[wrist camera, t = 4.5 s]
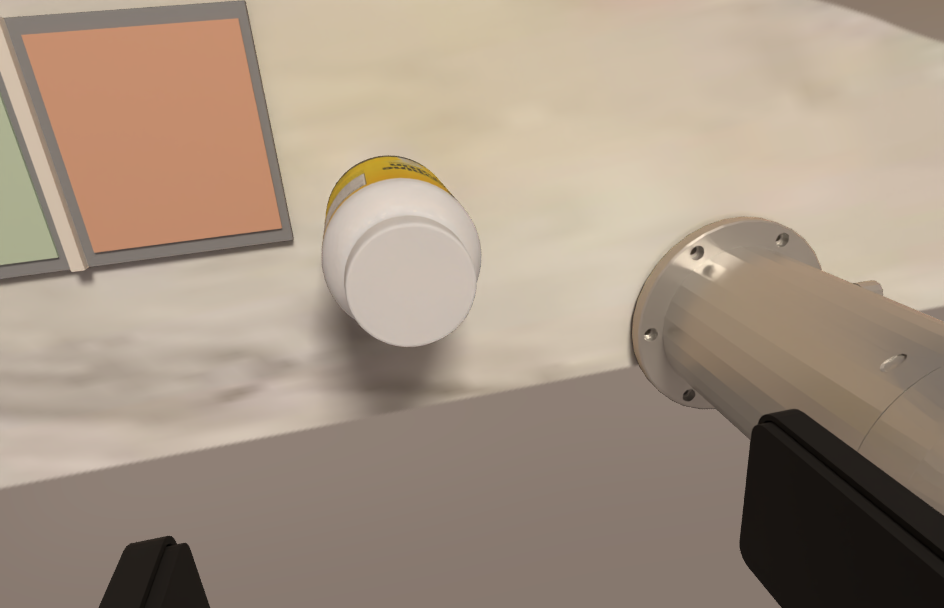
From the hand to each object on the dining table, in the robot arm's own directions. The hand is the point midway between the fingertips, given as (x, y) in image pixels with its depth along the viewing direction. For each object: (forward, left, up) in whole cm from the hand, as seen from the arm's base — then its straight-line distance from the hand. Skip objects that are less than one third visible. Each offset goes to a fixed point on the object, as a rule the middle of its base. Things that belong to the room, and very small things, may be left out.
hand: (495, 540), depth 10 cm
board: (+15, -5, -24) cm, 29 cm away
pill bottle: (0, 0, -24) cm, 24 cm away
